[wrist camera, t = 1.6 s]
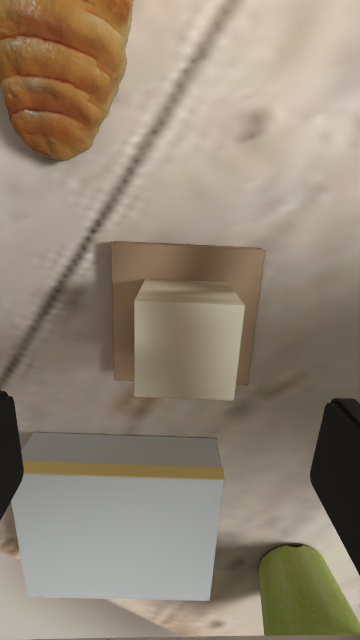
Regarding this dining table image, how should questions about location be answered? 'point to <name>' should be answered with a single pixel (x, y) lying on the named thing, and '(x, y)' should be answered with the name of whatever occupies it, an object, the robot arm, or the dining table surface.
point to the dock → (118, 516)
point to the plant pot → (302, 595)
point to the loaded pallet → (181, 267)
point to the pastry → (61, 69)
